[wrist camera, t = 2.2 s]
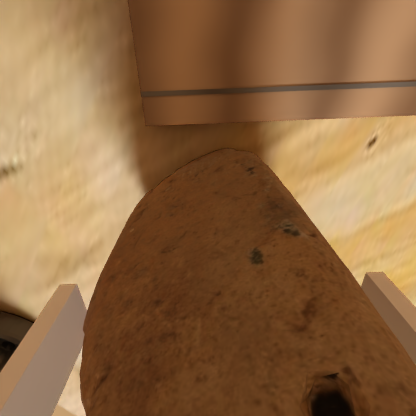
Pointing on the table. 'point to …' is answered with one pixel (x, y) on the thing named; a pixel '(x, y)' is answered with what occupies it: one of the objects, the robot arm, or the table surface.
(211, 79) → the board
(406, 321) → the robot arm
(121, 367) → the brown pitted rock
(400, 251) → the table surface
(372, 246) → the table surface
